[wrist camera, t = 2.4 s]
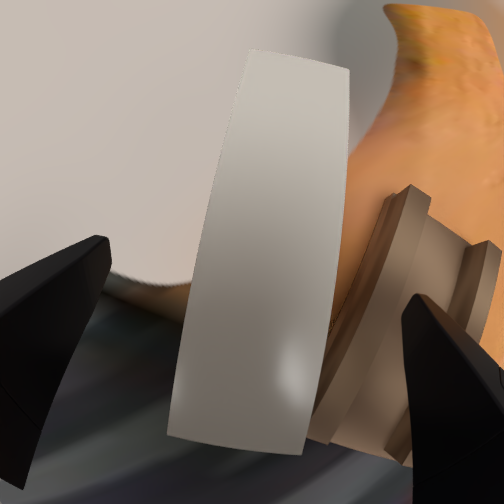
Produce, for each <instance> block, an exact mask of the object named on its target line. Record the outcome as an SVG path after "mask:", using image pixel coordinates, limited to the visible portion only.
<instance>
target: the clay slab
mask: <svg viewBox="0 0 504 504" xmlns="http://www.w3.org/2000/svg"><path fill="white" fill-rule="evenodd" d="M348 134H349V69H346V68H342V67H338V66H334V65H331V64H327V63H323V62H319V61H314V60H310V59H306V58H300V57H296V56H291V55H286V54H280V53H274V52H269V51H263V50H256V49H250V50H249V53H248V57H247V60H246V63H245V67H244V70H243V73H242V77H241V80H240V84H239V87H238V91H237V94H236V98H235V101H234V105H233V109H232V113H231V116H230V120H229V124H228V127H227V131H226V135H225V139H224V143H223V146H222V150H221V155H220V159H219V162H218V167H217V170H216V175H215V178H214V183H213V187H212V191H211V195H210V200H209V204H208V209H207V213H206V217H205V222H204V226H203V230H202V235H201V240H200V244H199V249H198V254H197V259H196V264H195V268H194V273H193V278H192V283H191V288H190V294H189V299H188V304H187V309H186V315H185V320H184V326H183V331H182V337H181V343H180V349H179V355H178V361H177V367H176V373H175V380H174V386H173V393H172V400H171V407H170V414H169V421H168V429H167V435H169V436H173V437H178V438H182V439H186V440H191V441H196V442H201V443H206V444H211V445H217V446H223V447H229V448H235V449H242V450H250V451H258V452H267V453H278V454H291V455H302V451H303V447H304V443H305V439H306V435H307V431H308V427H309V423H310V419H311V414H312V410H313V405H314V401H315V396H316V392H317V387H318V382H319V377H320V372H321V367H322V362H323V357H324V351H325V346H326V340H327V335H328V329H329V323H330V317H331V310H332V304H333V297H334V290H335V283H336V275H337V268H338V260H339V251H340V242H341V233H342V223H343V212H344V201H345V188H346V174H347V157H348Z"/></svg>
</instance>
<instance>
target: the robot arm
mask: <svg viewBox="0 0 504 504" xmlns="http://www.w3.org/2000/svg"><path fill="white" fill-rule="evenodd" d="M111 264H112V258H111V250H110V242H109V239H108V238H107V237H105V236H100V235H94V236H91V237H89V238H87V239H85V240H82V241H80V242H78V243H76V244H74V245H71V246H69V247H67V248H65V249H63V250H60V251H58V252H56V253H54V254H52V255H50V256H48V257H46V258H43V259H41V260H39V261H37V262H35V263H33V264H31V265H29V266H27V267H25V268H23V269H21V270H19V271H17V272H15V273H13V274H11V275H9V276H7V277H5V278H4V279H2V280H0V478H1V479H2V480H4V481H6V482H8V483H10V484H11V485H13V486H15V487H17V488H19V489H21V490H23V489H24V486H25V483H26V479H27V476H28V472H29V469H30V466H31V462H32V459H33V456H34V453H35V450H36V447H37V444H38V441H39V438H40V435H41V432H42V431H41V430H42V429H43V426H44V423H45V420H46V418H47V415H48V412H49V410H50V407H51V405H52V402H53V399H54V397H55V394H56V392H57V390H58V387H59V385H60V382H61V380H62V378H63V375H64V373H65V371H66V368H67V366H68V364H69V362H70V359H71V357H72V355H73V353H74V351H75V348H76V346H77V344H78V342H79V340H80V338H81V336H82V334H83V331H84V329H85V327H86V325H87V323H88V321H89V319H90V317H91V315H92V313H93V311H94V309H95V306H96V304H97V301H98V299H99V296H100V293H101V291H102V288H103V286H104V283H105V281H106V278H107V276H108V274H109V271H110V269H111ZM401 328H402V343H403V361H404V370H405V378H406V386H407V394H408V403H409V414H410V426H411V441H412V464H413V502H412V504H504V370H503V369H502V368H501V367H499V365H498V364H497V363H496V362H495V361H494V360H493V359H492V358H491V357H490V356H489V355H488V354H487V352H486V351H485V350H484V349H483V348H482V347H481V346H480V345H479V344H478V343H477V342H476V341H475V340H474V339H473V338H472V337H471V336H470V335H469V334H468V333H467V332H466V331H465V330H464V329H463V328H462V327H461V326H460V325H458V324H457V323H456V322H455V321H454V320H453V319H452V318H451V317H450V316H449V315H448V314H447V313H446V312H445V311H444V310H443V309H442V308H441V307H440V306H438V305H437V304H436V303H435V302H434V301H433V300H432V299H431V298H430V297H429V296H427V295H426V294H420V293H415V294H414V295H413V296H412V297H411V299H410V300H409V302H408V304H407V306H406V307H405V309H404V311H403V312H402V315H401Z"/></svg>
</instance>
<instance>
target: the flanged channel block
mask: <svg viewBox="0 0 504 504" xmlns="http://www.w3.org/2000/svg"><path fill="white" fill-rule="evenodd" d="M430 202H431V197H430V196H428V195H427V194H425V193H424V192H422V191H421V190H419V189H418V188H416V187H415V186H413V185H411V184H410V185H409V186H408V187H406V188H405V189H404V190H402V191H401V192H400V193H399V194H397V195H396V194H395V193H392V194H391V195H390V196H389V197H387V198H386V199H385V202H384V205H383V207H382V210H381V213H380V216H379V219H378V221H377V224H376V227H375V229H374V232H373V235H372V237H371V240H370V242H369V245H368V248H367V250H366V253H365V255H364V258H363V260H362V263H361V265H360V267H359V270H358V272H357V275H356V277H355V279H354V282H353V284H352V286H351V289H350V291H349V293H348V296H347V298H346V300H345V302H344V305H343V307H342V309H341V311H340V313H339V316H338V318H337V320H336V322H335V324H334V326H333V328H332V330H331V333H330V335H329V337H328V339H327V341H326V346H325V351H324V357H323V362H322V367H321V372H320V377H319V382H318V387H317V392H316V396H315V401H314V405H313V410H312V414H311V419H310V423H309V427H308V431H307V435H306V438H309V439H312V440H315V441H318V442H321V443H323V444H327V445H328V444H329V442H332V443H335V444H338V445H341V446H345V447H348V448H351V449H354V450H358V451H361V452H365V453H368V454H372V455H376V456H380V457H383V458H387V459H391V460H396V461H397V462H399V463H400V464H401V465H403V466H408V467H412V468H413V464H412V441H411V426H410V414H409V403H408V394H407V386H406V378H405V370H404V361H403V343H402V328H401V315H402V312H403V311H404V309H405V307H406V306H407V304H408V302H409V300H410V299H411V297H412V296H413V295H414V294H415V293H420V294H426V295H427V296H429V297H430V298H431V299H432V300H433V301H434V302H435V303H436V304H437V305H438V306H440V307H441V308H442V309H443V310H444V311H445V312H446V313H447V314H448V315H449V316H450V317H451V318H452V319H453V320H454V321H455V322H456V323H457V324H458V325H460V326H461V327H462V328H463V329H464V330H465V331H466V332H467V333H468V334H469V335H470V336H471V337H472V338H473V339H474V340H475V341H476V342H477V343H478V344H479V342H480V339H481V336H482V333H483V330H484V327H485V323H486V320H487V316H488V313H489V309H490V305H491V302H492V298H493V294H494V289H495V285H496V281H497V276H498V271H499V266H500V261H501V255H502V251H501V250H500V249H499V248H498V247H497V246H495V245H494V244H493V243H492V242H491V241H489V240H487V241H484V242H481V243H478V244H475V245H471V244H469V243H468V242H466V241H465V240H464V239H462V238H461V237H460V236H458V235H457V234H455V233H454V232H453V231H451V230H450V229H448V228H447V227H445V226H444V225H443V224H441V223H440V222H438V221H437V220H435V219H434V218H432V217H431V216H429V215H428V214H427V213H428V209H429V206H430Z"/></svg>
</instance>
